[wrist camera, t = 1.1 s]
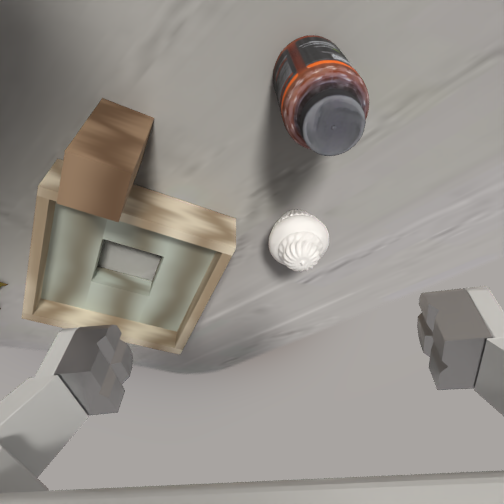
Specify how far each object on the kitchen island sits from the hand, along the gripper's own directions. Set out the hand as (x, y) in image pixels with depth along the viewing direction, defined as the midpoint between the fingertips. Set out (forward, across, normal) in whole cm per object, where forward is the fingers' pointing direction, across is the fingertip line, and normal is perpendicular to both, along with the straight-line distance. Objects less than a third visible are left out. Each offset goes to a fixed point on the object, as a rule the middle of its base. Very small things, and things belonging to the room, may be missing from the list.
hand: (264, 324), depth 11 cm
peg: (+28, +14, +3) cm, 31 cm away
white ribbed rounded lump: (+30, 0, +16) cm, 34 cm away
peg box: (+28, +18, +17) cm, 38 cm away
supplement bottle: (+29, -3, +1) cm, 29 cm away
